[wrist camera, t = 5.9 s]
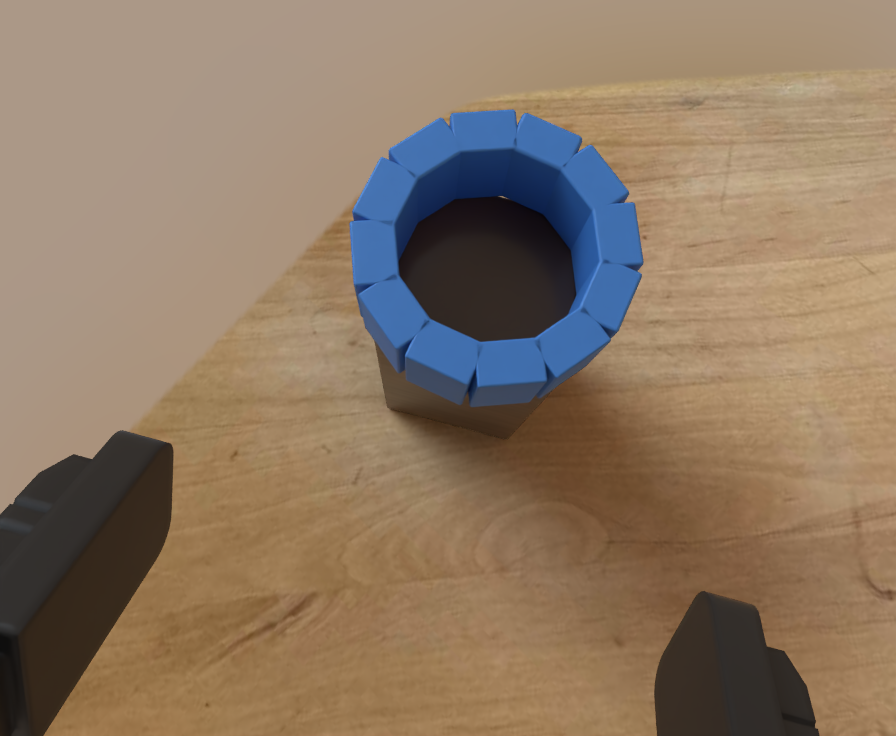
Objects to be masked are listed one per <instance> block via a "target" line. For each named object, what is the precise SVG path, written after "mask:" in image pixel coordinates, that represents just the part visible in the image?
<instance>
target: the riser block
mask: <svg viewBox="0 0 896 736" xmlns="http://www.w3.org/2000/svg"><path fill="white" fill-rule="evenodd" d="M398 262H399V275H400V277H401V279H402V280H403V281H404V283H405V284H406V286H407V287H408V288H409V290H410V291H411V293H412V294H413V295H414V297H415V298H416V299H417V301H418V302H419V304H420V305H421V306H422V308H423V309H424V311H425V312H426V313H427V315H428V316H429V318H430V319H431V320H434V321H436V322H438V323H440V324H442V325H445V326H447V327H449V328H451V329H453V330H455V331H458V332H460V333H462V334H464V335H466V336H469V337H471V338H473V339H475V340H477V341H479V342H486V341H499V340H512V339H525V338H535V337H537V336H538V335H539V334H541V333H542V332H544V331H545V330H547V329H548V328H550V327H551V326H553V325H554V324H555V323H557V322H558V321H560V320H561V319H563V318H564V317H566V316H567V315H568V313H569V311H570V308H571V306H572V304H573V302H574V299H575V297H576V287H575V280H574V272H573V264H572V256H571V250H570V249H569V247H568V246H567V245H566V243H565V242H564V241H563V239H562V238H561V237H560V235H559V234H558V233H557V232H556V230H555V229H554V228H553V226H552V225H551V224H550V222H549V221H548V220H547V218H546V217H545V216H544V215H543V214H541V213H539V212H537V211H535V210H533V209H530V208H528V207H526V206H524V205H521V204H519V203H517V202H515V201H512V200H510V199H506V198H502V197H499V196H493V197H479V198H464V199H454V200H453V201H451V202H450V203H448V204H447V205H445V206H443V207H442V208H440V209H439V210H437V211H436V212H434V213H433V214H431V215H429V216H428V217H426V218H425V219H423V220H422V221H420V222H418V224H417V226H416V228H415V230H414V232H413V234H412V236H411V238H410V239H409V241H408V243H407V245H406V247H405V249H404V251H403V253H402V255H401V257H400V259H399V261H398ZM375 346H376V351H377V357H378V362H379V367H380V372H381V377H382V383H383V388H384V393H385V398H386V403H387V407H388V408H390V409H394V410H398V411H401V412H405V413H409V414H412V415H416V416H420V417H424V418H427V419H431V420H435V421H439V422H442V423H446V424H450V425H453V426H457V427H461V428H465V429H468V430H472V431H476V432H479V433H483V434H487V435H491V436H494V437H498V438H502V439H508V438H509V437H510V436H511V435H512V434H513V433H514V432H515V430H516V429H517V428H518V427H519V426H520V425H521V424H522V423H523V422H524V421H525V420H526V419H527V418H528V417H529V415H530V414H531V413H532V412H533V411H534V410H535V409H536V408H537V407H538V406H539V405H540V404H541V403H542V401H543V400H544V399H545V398H546V397H547V396H548V395H549V394H550V393H551V392H552V391H553V390H554V389H553V390H551V391H550V392H549V393H547V394H546V395H544V396H543V397H541V398H537V396H536V395H535V396H534V398H533V399H532V400H531V401H530V402H528V403H516V404H504V405H492V406H479V407H470V405H469V397H468V392H467V394H466V396H465V398H464V401H463V403H462V404H461V405H458V404H456V403H454V402H452V401H450V400H447V399H445V398H443V397H441V396H439V395H437V394H434V393H432V392H430V391H428V390H426V389H424V388H422V387H419V386H417V385H415V384H413V383H411V382H409V381H407V380H406V370H404V371H403V372H401V373H397V372H396V370H395V369H394V367H393V366H392V364H391V363H390V362H389V360H388V359H387V357H386V356H385V354H384V353H383V352H382V350H381V349H380V347H379V346H378V345H377V343H376V342H375Z"/></svg>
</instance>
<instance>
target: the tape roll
mask: <svg viewBox="0 0 896 736" xmlns="http://www.w3.org/2000/svg"><path fill="white" fill-rule="evenodd" d="M581 143H582V138H581V137H580V136H578V135H576V134H574V133H571V132H569V131H567V130H565V129H562V128H560V127H558V126H556V125H553V124H551V123H549V122H547V121H544V120H542V119H540V118H538V117H535V116H533V115H531V114H528V113H524V114H523V115H522V117H521V119H520V121H519V123H518V125H517V121H516V112H515V110H497V111H481V112H464V113H452V114H451V116H450V126H448V125H447V123H446V122H445V121H444V119H443V118H439V119H437V120H435V121H434V122H432V123H431V124H429V125H427V126H426V127H424V128H422V129H421V130H419V131H418V132H416V133H414V134H413V135H411V136H410V137H408V138H406V139H405V140H403V141H401V142H400V143H398V144H397V145H395V146H393V147H392V148H390V150H389V160H388V159H385V158H383V157H381V158H380V159H379V161H378V163H377V165H376V167H375V169H374V171H373V173H372V175H371V177H370V178H369V180H368V182H367V184H366V186H365V188H364V190H363V192H362V193H361V195H360V197H359V199H358V201H357V203H356V205H355V207H354V209H353V211H352V213H353V218H354V221H351V222H350V236H351V251H352V265H353V279H354V287H355V291H356V296H357V300H358V304H359V309H360V313H361V316H362V317H363V319H364V324H365V327H366V329H367V330H368V332H369V333H370V335H371V336H372V337H373V339H374V340H375V342H376V343H377V345H378V346H379V347H380V349H381V350H382V352H383V353H384V354H385V356H386V357H387V359H388V360H389V362H390V363H391V364H392V366H393V367H394V369H395V370H396V372H397V373H401V372H403V371H404V370H406V380H407V381H409V382H411V383H413V384H415V385H417V386H419V387H422V388H424V389H426V390H428V391H430V392H432V393H434V394H437V395H439V396H441V397H443V398H445V399H447V400H450V401H452V402H454V403H456V404H458V405H461V404H462V403H463V401H464V398H465V396H466V394H467V392H468V397H469V405H470V407H479V406H492V405H504V404H516V403H528V402H530V401H531V400H532V399H533V398H534V396H535V395H536V396H537V398H541V397H543V396H544V395H546V394H547V393H549V392H550V391H551V390H553V389H554V388H556V387H557V386H558V385H560V384H561V383H563V382H564V381H566V380H567V379H568V378H570V377H571V376H573V375H574V374H576V373H577V372H578V371H580V370H581V369H583V368H584V367H585V366H586V365H587V364H588V363H589V362H590V361H591V360H592V359H593V358H594V357H595V356H596V355H597V354H598V353H599V352H600V351H601V350H602V349H603V348H604V347H605V346H606V345H607V344H608V343H609V342H610V341H611V340H610V339H611V338H612V337H613V336H614V335H615V334H616V333H617V332H618V331H619V329H620V326H621V324H622V322H623V319H624V317H625V315H626V312H627V310H628V308H629V305H630V303H631V301H632V298H633V296H634V294H635V291H636V289H637V287H638V284H639V282H640V280H641V277H642V274H641V273H639V272H637V271H638V270H639V269H640V267H641V266H642V265H643V255H642V249H641V242H640V235H639V229H638V222H637V215H636V208H635V204H634V203H632V202H631V203H624V202H625V200H626V198H627V197H628V195H629V192H628V190H627V189H626V187H625V186H624V185H623V184H622V182H621V181H620V180H619V178H618V177H617V176H616V175H615V173H614V172H613V171H612V170H611V168H610V167H609V166H608V165H607V163H606V162H605V161H604V159H603V158H602V157H601V156H600V154H599V153H598V152H597V151H596V149H595V148H594V147H593V146H592V145H589V146H587V147H585V148H584V149H582V150H580V151H579V152H578V150H579V148H580V145H581ZM493 196H503V197H506V198H508V199H510V200H512V201H515V202H517V203H519V204H521V205H524V206H526V207H528V208H530V209H533V210H535V211H537V212H539V213H541V214H543V215H544V216H545V217H546V218H547V220H548V221H549V222H550V224H551V225H552V226H553V228H554V229H555V230H556V232H557V233H558V234H559V235H560V237H561V238H562V239H563V241H564V242H565V243H566V245H567V246H568V247H569V249H570V250H571V256H572V264H573V272H574V280H575V287H576V297H575V299H574V302H573V304H572V306H571V308H570V311H569V313H568V315H567V316H566V317H564V318H563V319H561V320H560V321H558V322H557V323H555V324H554V325H553V326H551V327H550V328H548V329H547V330H545V331H544V332H542V333H541V334H539V335H538V336H537V337H535V338H525V339H512V340H499V341H486V342H479V341H477V340H475V339H473V338H471V337H469V336H466V335H464V334H462V333H460V332H458V331H455V330H453V329H451V328H449V327H447V326H445V325H442V324H440V323H438V322H436V321H434V320H431V319H430V318H429V316H428V315H427V313H426V312H425V311H424V309H423V308H422V306H421V305H420V304H419V302H418V301H417V299H416V298H415V297H414V295H413V294H412V293H411V291H410V290H409V288H408V287H407V286H406V284H405V283H404V281H403V280H402V279H401V277H400V275H399V262H398V261H399V259H400V257H401V255H402V253H403V251H404V249H405V247H406V245H407V243H408V241H409V239H410V238H411V236H412V234H413V232H414V230H415V228H416V226H417V224H418V222H420V221H422V220H423V219H425V218H426V217H428V216H429V215H431V214H433V213H434V212H436V211H437V210H439V209H440V208H442V207H443V206H445V205H447V204H448V203H450V202H451V201H453V200H454V199H464V198H479V197H493Z"/></svg>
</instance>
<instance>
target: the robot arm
mask: <svg viewBox="0 0 896 736" xmlns="http://www.w3.org/2000/svg"><path fill="white" fill-rule="evenodd" d="M172 482H173V447H172V445H171V444H170V443H167V442H163V441H159V440H156V439H152V438H148V437H145V436H141V435H138V434H134V433H130V432H127V431H123V430H122V431H118V432H117V433H115V434H114V435H113V436H112V437H111V438H110V439H109V440H108V442H107V443H106V444H105V445H104V446H103V447H102V449H101V450H100V451H99V452H98V453H97V454H96V456H95V457H94V458H93V459H89V458H85V457H82V456H78V455H74V454H73V455H71V456H69V457H68V458H66V459H64V460H62V461H60V462H58V463H57V464H55V465H53V466H51V467H49V468H47V469H46V470H44V471H42V472H40V473H39V474H38V475H37V476H36V477H35V478H34V479H33V480H32V481H31V482H30V483H29V484H28V485H27V487H25V489H24V490H23V491H22V492H21V493H20V494H19V495H18V496H17V497H16V498H15V502H14V504H13V505H12V504H10V505H9V506H8V507H7V508H6V509H5V510H4V511H3V512H2V513H1V514H0V736H43V735H44V734H45V732H46V731H47V729H48V727H49V726H50V724H51V723H52V721H53V720H54V718H55V717H56V715H57V713H58V712H59V710H60V709H61V707H62V706H63V704H64V703H65V701H66V699H67V698H68V696H69V695H70V693H71V692H72V690H73V688H74V687H75V685H76V684H77V682H78V681H79V679H80V678H81V676H82V674H83V673H84V671H85V670H86V668H87V667H88V665H89V664H90V662H91V660H92V659H93V657H94V656H95V654H96V653H97V651H98V650H99V648H100V646H101V645H102V643H103V642H104V640H105V639H106V637H107V635H108V634H109V632H110V631H111V629H112V628H113V626H114V625H115V623H116V621H117V620H118V618H119V617H120V615H121V614H122V612H123V611H124V609H125V607H126V606H127V604H128V603H129V601H130V600H131V598H132V596H133V595H134V593H135V592H136V590H137V589H138V587H139V586H140V584H141V582H142V581H143V579H144V578H145V576H146V575H147V573H148V572H149V570H150V568H151V567H152V565H153V564H154V562H155V561H156V559H157V557H158V556H159V554H160V552H161V550H162V548H163V545H164V543H165V540H166V537H167V534H168V531H169V527H170V522H171V510H172ZM654 697H655V712H656V726H657V736H819V732H818V729H816V728H815V723H816V720H815V716H814V713H813V709H812V705H811V701H810V697H809V694H808V690H807V686H806V684H805V683H804V681H803V680H802V678H801V677H800V675H799V673H798V672H797V670H796V669H795V667H794V666H793V664H792V663H791V661H790V659H789V658H788V656H787V655H786V653H785V652H784V651H782V650H778V649H774V648H771V647H767V646H766V642H765V638H764V633H763V629H762V624H761V620H760V616H759V612H758V610H757V608H756V607H755V606H754V605H752V604H749V603H745V602H741V601H738V600H734V599H730V598H727V597H723V596H719V595H716V594H712V593H708V592H705V591H702V592H700V593H699V594H698V595H697V596H696V597H695V599H694V600H693V602H692V604H691V605H690V607H689V609H688V611H687V612H686V614H685V616H684V618H683V619H682V621H681V623H680V625H679V626H678V628H677V630H676V632H675V633H674V635H673V637H672V639H671V640H670V642H669V644H668V646H667V647H666V649H665V651H664V653H663V655H662V657H661V660H660V662H659V666H658V670H657V674H656V680H655V691H654Z"/></svg>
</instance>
